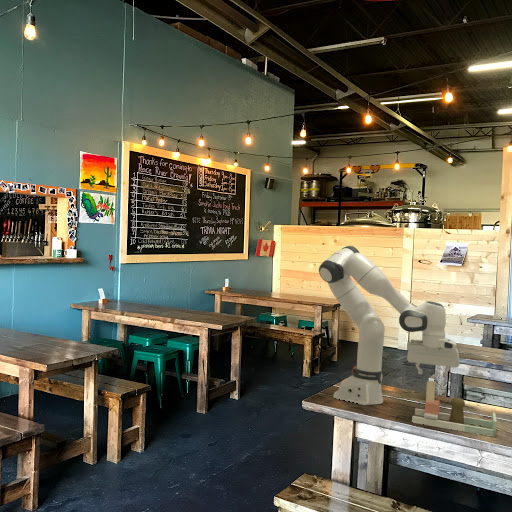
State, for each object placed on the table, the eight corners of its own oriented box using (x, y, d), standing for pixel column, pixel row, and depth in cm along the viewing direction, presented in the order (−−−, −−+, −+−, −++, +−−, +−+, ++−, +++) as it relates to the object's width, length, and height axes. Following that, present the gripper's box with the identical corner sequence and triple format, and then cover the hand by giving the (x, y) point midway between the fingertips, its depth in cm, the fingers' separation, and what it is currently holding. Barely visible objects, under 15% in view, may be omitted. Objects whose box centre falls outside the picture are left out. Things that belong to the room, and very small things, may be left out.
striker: (423, 423, 199) (425, 384, 199) (426, 414, 211) (428, 377, 211) (437, 426, 197) (439, 386, 197) (439, 416, 209) (441, 379, 209)
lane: (412, 422, 201) (412, 407, 201) (415, 414, 212) (415, 400, 212) (495, 437, 189) (496, 421, 189) (494, 427, 200) (495, 412, 200)
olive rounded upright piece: (446, 425, 200) (447, 398, 200) (451, 422, 205) (453, 395, 205) (461, 429, 196) (463, 401, 196) (466, 426, 201) (468, 398, 200)
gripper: (406, 340, 205) (405, 373, 205) (459, 345, 197) (458, 380, 197) (408, 338, 211) (406, 370, 211) (460, 342, 203) (459, 376, 203)
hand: (432, 375), depth 204 cm, fingers open, 8 cm apart
